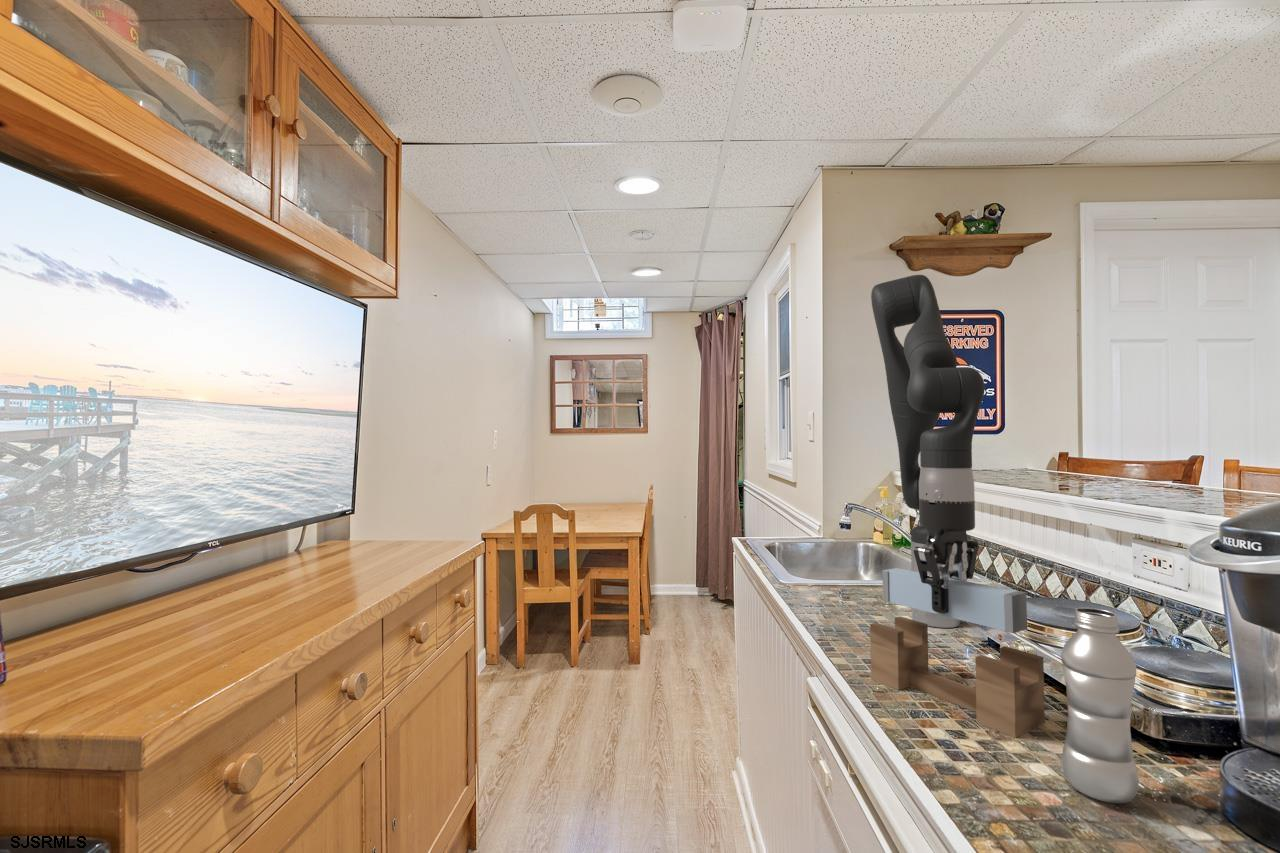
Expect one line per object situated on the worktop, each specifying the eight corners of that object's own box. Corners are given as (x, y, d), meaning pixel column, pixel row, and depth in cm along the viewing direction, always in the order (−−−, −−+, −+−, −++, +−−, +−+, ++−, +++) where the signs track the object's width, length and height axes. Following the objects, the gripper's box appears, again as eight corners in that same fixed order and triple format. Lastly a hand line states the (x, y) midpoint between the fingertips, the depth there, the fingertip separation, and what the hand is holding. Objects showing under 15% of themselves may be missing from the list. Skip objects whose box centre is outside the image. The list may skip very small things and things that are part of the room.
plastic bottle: (1067, 769, 68) (1063, 600, 68) (1143, 794, 63) (1138, 612, 64) (1056, 793, 63) (1052, 611, 64) (1137, 822, 59) (1132, 625, 59)
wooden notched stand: (900, 669, 98) (900, 616, 98) (1044, 722, 79) (1043, 657, 80) (870, 679, 94) (870, 624, 94) (1015, 738, 75) (1013, 668, 75)
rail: (897, 597, 97) (896, 567, 97) (1027, 628, 80) (1026, 592, 80) (883, 600, 95) (882, 570, 95) (1012, 633, 77) (1011, 596, 78)
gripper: (948, 493, 95) (950, 598, 94) (895, 497, 87) (897, 611, 87) (996, 496, 88) (998, 609, 88) (943, 501, 81) (945, 624, 80)
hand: (948, 609), depth 87 cm, fingers closed on rail, 3 cm apart
